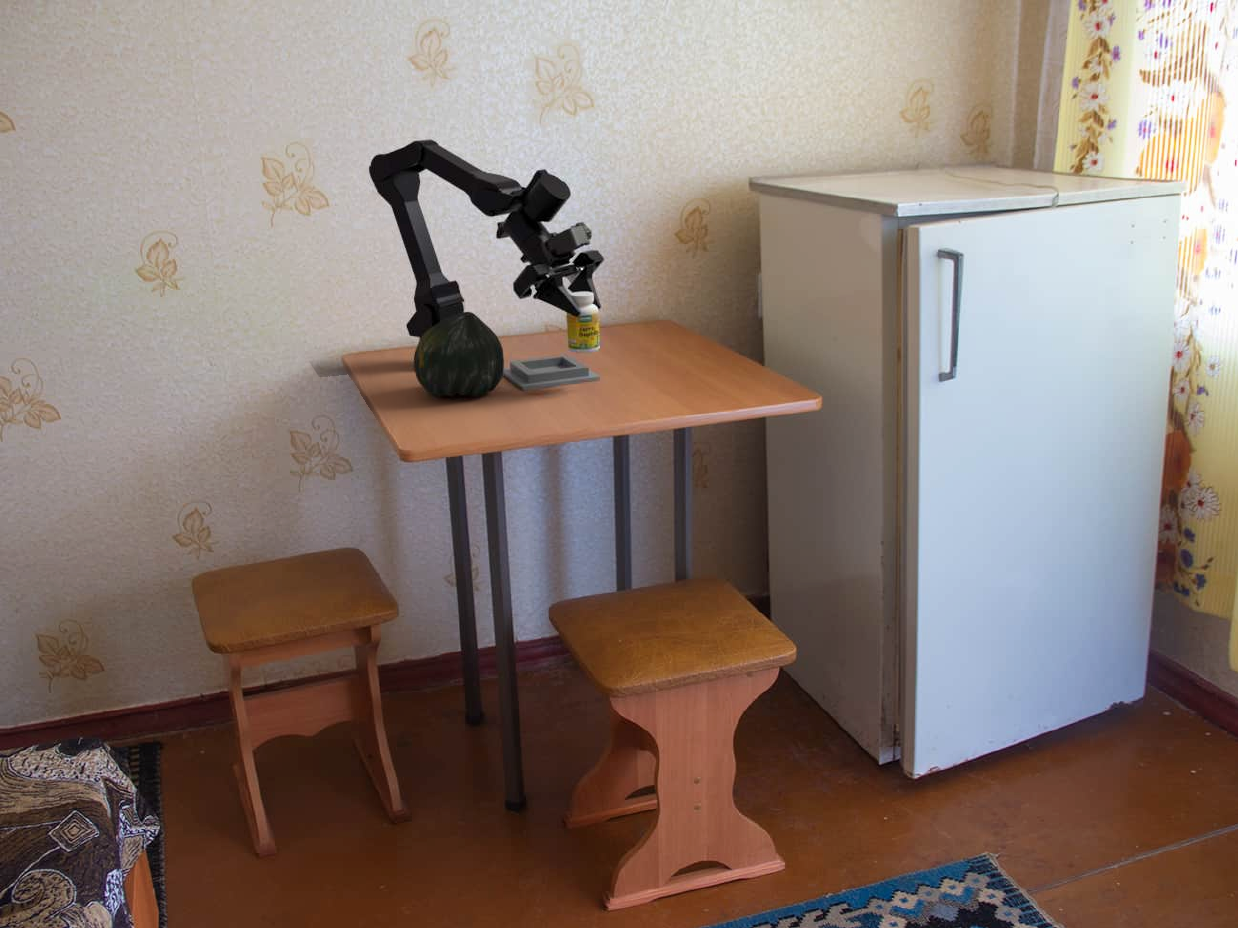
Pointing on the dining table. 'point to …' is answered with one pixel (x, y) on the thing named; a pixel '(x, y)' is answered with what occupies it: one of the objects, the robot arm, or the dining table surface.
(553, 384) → the tray
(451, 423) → the dining table surface
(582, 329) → the supplement bottle
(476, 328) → the squash
